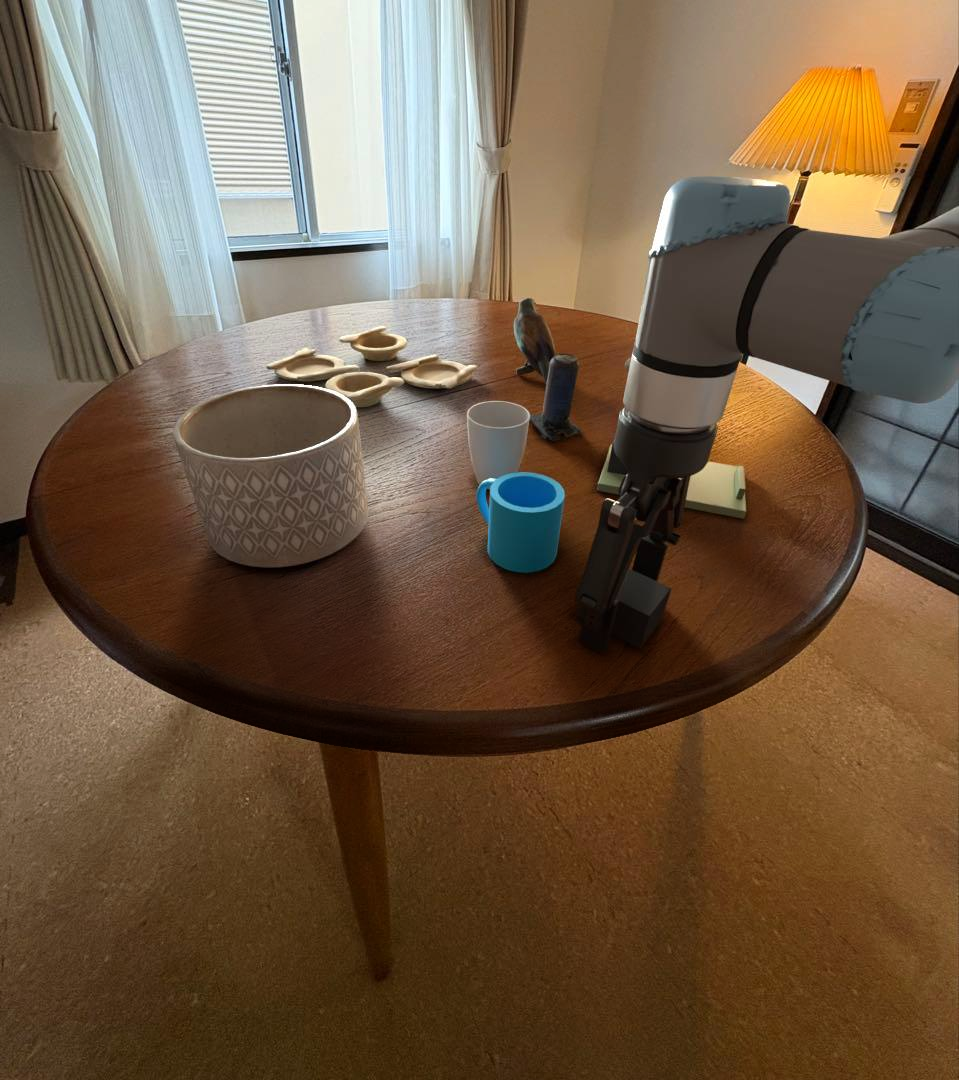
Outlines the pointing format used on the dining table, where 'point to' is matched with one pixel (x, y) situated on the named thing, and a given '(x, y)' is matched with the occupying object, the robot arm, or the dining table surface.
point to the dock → (693, 486)
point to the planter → (275, 473)
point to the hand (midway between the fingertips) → (618, 615)
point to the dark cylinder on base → (558, 398)
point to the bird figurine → (533, 339)
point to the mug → (522, 520)
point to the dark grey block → (638, 608)
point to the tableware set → (370, 385)
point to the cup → (496, 438)
